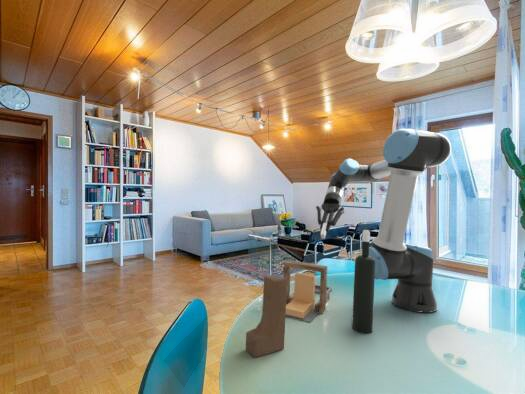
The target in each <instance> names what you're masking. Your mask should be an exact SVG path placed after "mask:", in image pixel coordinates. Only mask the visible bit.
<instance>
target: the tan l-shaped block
mask: <svg viewBox="0 0 525 394" xmlns="http://www.w3.org/2000/svg"><path fill="white" fill-rule="evenodd" d="M316 279H317V278H316V275H312V274H305V273H301V272H295V274H294V291H293V293H294V299H293V300H292V301H291V302H290V303H288V304H287V305H286V315H290V316H294V317H298V318H302V319H303V318H304V317H305V316H306V315H307V314H308V313H309V312H310V311H311V310H312V309H315V301H316V300H315V299H316V298H315V296H316V293H315V285H316Z"/></svg>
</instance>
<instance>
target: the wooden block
mask: <svg viewBox="0 0 525 394" xmlns="http://www.w3.org/2000/svg"><path fill="white" fill-rule="evenodd" d="M262 293H263V294H262V313H261V314H262V315H261V318H260V321H259V323H257V325H256V327H255V328H253V329H251V330H249V331H246V333H245V334H246V335H245V350H246V352H248V353H249V355H251V356H252V358H260V357H262V356H264V355H269V354H272V353H275V352H279V351H281V350H284V348H285V336H286V335H285V334H286V333H285V332H286V317H285V315H286V293H287V279H286V278H284V277H283V276H281V275H280V274H274V275H273V274H272V275H266V276H264V277H263V292H262Z"/></svg>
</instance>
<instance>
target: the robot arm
mask: <svg viewBox="0 0 525 394" xmlns="http://www.w3.org/2000/svg"><path fill="white" fill-rule="evenodd" d="M451 152H452V146H451V142H450V139H448V138H447V137H446V135H444V134H442V133H438V132H434V131H426V130H420V129H414V128H399V129H397V130H394V131H393V132H392V133H391V134H390V135H389V136H388V137H387V138H386V140H385V142H384V145H383V149H382V155H383V160H380V161H377V162H374V163H371V164H369V165H368V164H367V165H366V164H359V162H358V161H356V160H355V159H353V158H346V159H344V161H343V162H342V163H341V164H340V165H339V167H338V168H337V170H336V172H335V173H332V175H331V176H330V179H329V183H328V186H327V189H326V192H325V196H324V199H323V203H321V205H320V206H319V205H317V206H315V208H316V213H317V224H318V226H320V227H319V230H320V239H322V240H323V239H324V240H325V239H326V235H327V233H328V232H330V230H331V227H335V226H336V224H337V223H338V221H339V219H340V218H341V217H342V215H343V214H344V213H345V208H344V207H343V206H342V207H341V202H342V197H343V193H344V190H345V188H346V186H347V185H348V183H349V182H350V181H351V180H352V181H362V182H371V183H373V182H375V183H376V182H380V181H382V179H383V178H387V177H389V181H388V185H387V190H386V194H385V199H384V205H383V209H382V214H381V220H380V224H379V229H378V234H377V236H375V237H374V238H373V239H372V241H371V246H369V256H371V257H372V258H373V259H374V260H375V280H381V281H386V280H397V283H396V286H395V287H394V290H393V292H392V295H391V302H393V303H394V304H393V303H392V304H393V305H395V304H396V305H397V306H396V305H395V306H396V307H398V306H399V307H398V308H401V307H402V308H401V309H403V308H404V309H403V310H406V309H407V310H406V311H410V310H412V312H415V311H422V312H430V311H434V310H436V309H438V307H437V306H438V304H437V299H436V297H435V295H434V294H435V293H434V291H433V278H434V277H433V276H434V275H433V273H434V261H435V260H434V259H435V258H434V252H433V250H432V248H430V247H426V246H421V245H418V244H411V243H405V242H404V241H405V240H404V239H405V236H406V232H407V231H406V230H407V226H408V223H409V217H410V213H411V209H412V204H413V201H414V197H415V193H416V192H415V191H416V188H417V183H418V177H420V176H421V175H423V174H424V173H425V170H427V169H430V168H435V167H437V166H440V165H442V164H443V163H445V162H446V161H447V160H448V159H449V157H450V156H451ZM322 211H323V215H322ZM335 213H336V214H335ZM436 311H437V310H436ZM422 312H421V313H422Z"/></svg>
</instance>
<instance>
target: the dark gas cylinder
mask: <svg viewBox="0 0 525 394" xmlns="http://www.w3.org/2000/svg"><path fill="white" fill-rule="evenodd" d="M361 236H362V237H361V241H362V242H361V243H362V245H361V254H360V255H358V256H356V257H355V260H354V277H353V279H354V280H353V298H352V299H353V300H352V302H353V303H352V321H351V322H352V323H351V328H352V330H353V331H355V332H357V333H359V334H363V335H368V334H372V333H373V322H374V321H373V320H374V303H375V301H374V299H375V298H374V297H375V296H374V295H375V280H376V279H375V260H374V259H373V258H372V257H371V256H369V247H370V240H371V238H370V237H371V232H370V229H363V231H362V235H361Z"/></svg>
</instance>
